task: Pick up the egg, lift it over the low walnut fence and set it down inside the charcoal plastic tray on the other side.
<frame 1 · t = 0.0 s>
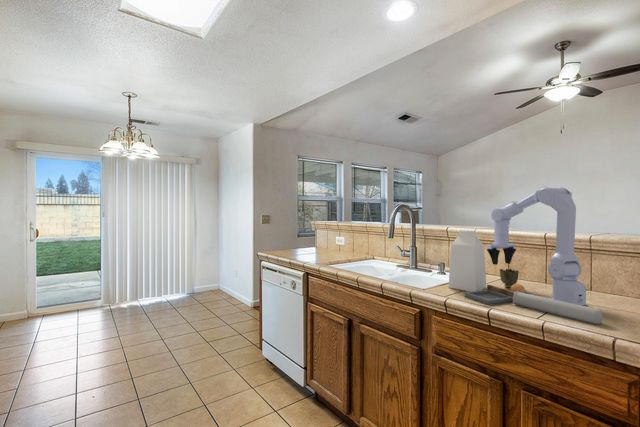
hand: (501, 263, 145), 10 cm above the worktop, tool pointing down, fingers open, 7 cm apart
egg: (517, 290, 127), point 2 cm above the worktop
fence: (506, 297, 125), on the worktop
tray: (488, 299, 122), on the worktop
cup: (509, 288, 141), on the worktop
tube: (555, 314, 105), on the worktop
milk: (467, 288, 141), on the worktop
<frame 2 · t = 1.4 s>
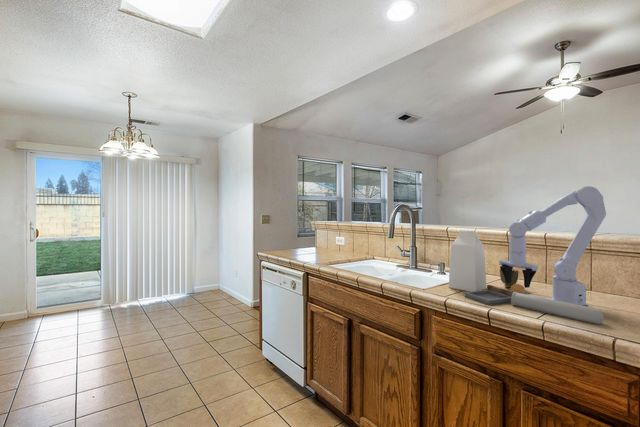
hand: (517, 285, 127), 4 cm above the worktop, tool pointing down, fingers open, 7 cm apart
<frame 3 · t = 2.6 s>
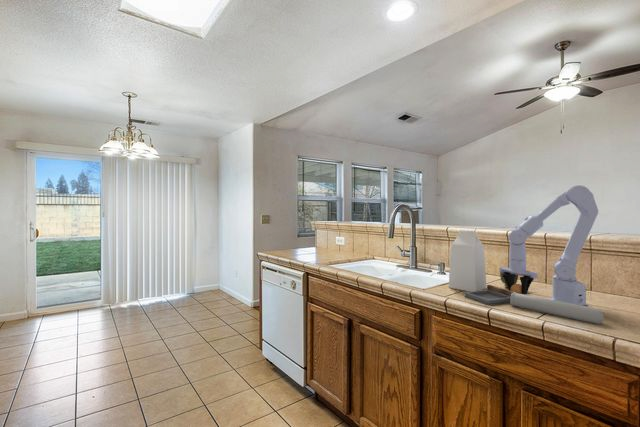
hand: (517, 292, 127), 1 cm above the worktop, tool pointing down, fingers closed on egg, 5 cm apart
egg: (517, 290, 127), point 2 cm above the worktop, touching gripper
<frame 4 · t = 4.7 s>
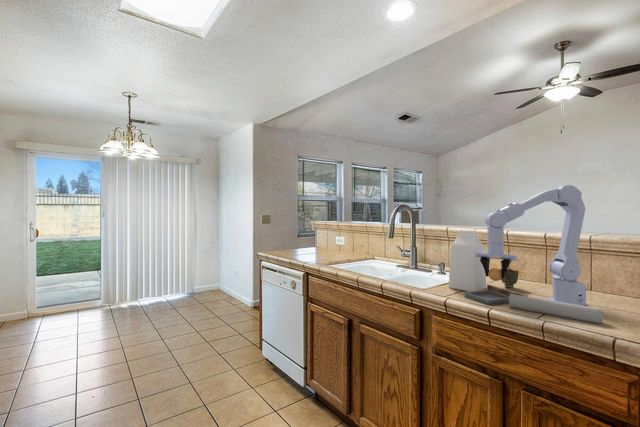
hand: (495, 277, 123), 9 cm above the worktop, tool pointing down, fingers closed on egg, 5 cm apart
egg: (495, 274, 123), point 10 cm above the worktop, touching gripper
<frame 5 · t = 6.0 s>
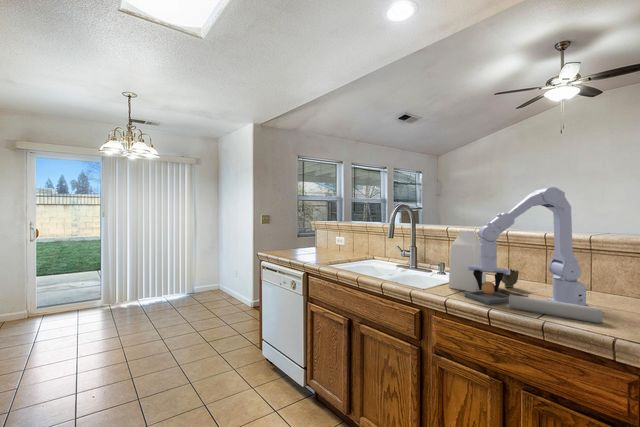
hand: (488, 290, 122), 3 cm above the worktop, tool pointing down, fingers closed on egg, 5 cm apart
egg: (488, 287, 122), point 5 cm above the worktop, touching gripper
when the fingers open (3 cm above the worktop, at t = 6.8 s): egg drops 1 cm, resting on tray.
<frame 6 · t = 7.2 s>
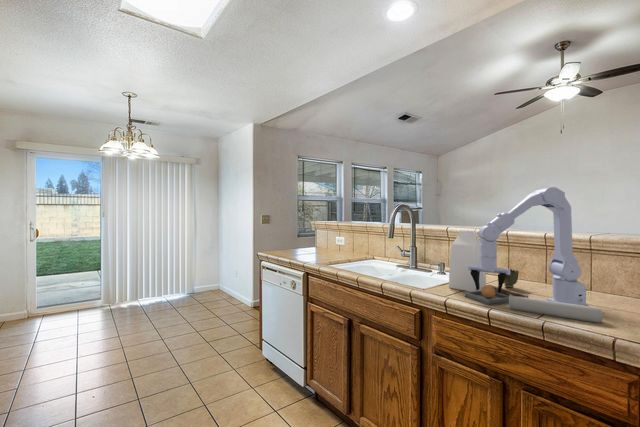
hand: (488, 290, 122), 3 cm above the worktop, tool pointing down, fingers open, 7 cm apart
egg: (488, 291, 122), point 3 cm above the worktop, touching tray
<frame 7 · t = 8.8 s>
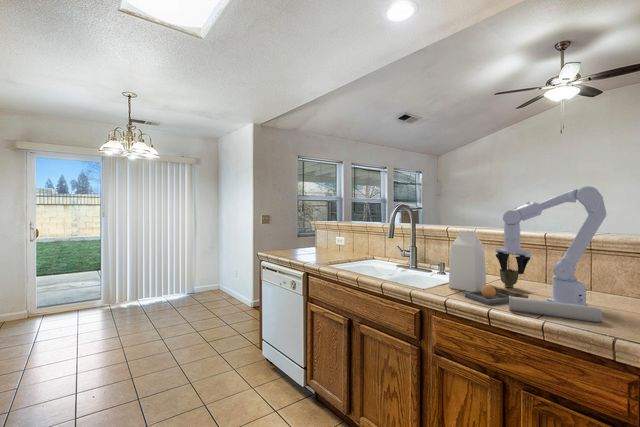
hand: (512, 272, 129), 9 cm above the worktop, tool pointing down, fingers open, 7 cm apart
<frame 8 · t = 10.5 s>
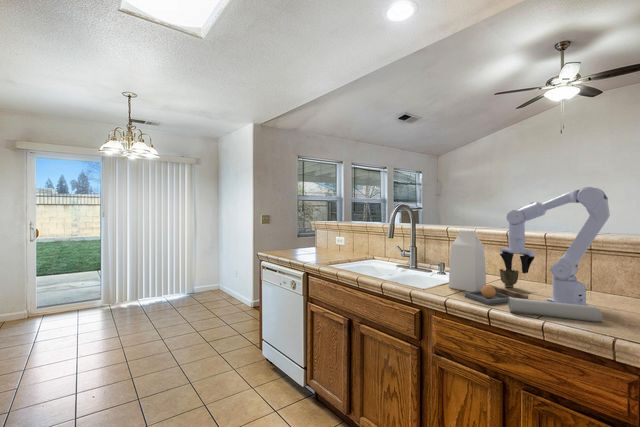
hand: (516, 271, 130), 9 cm above the worktop, tool pointing down, fingers open, 7 cm apart
at the end: egg inside the target area on the tray (0.0 cm from its centre), point 3.1 cm above the tray's base; the gripper is holding nothing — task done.
